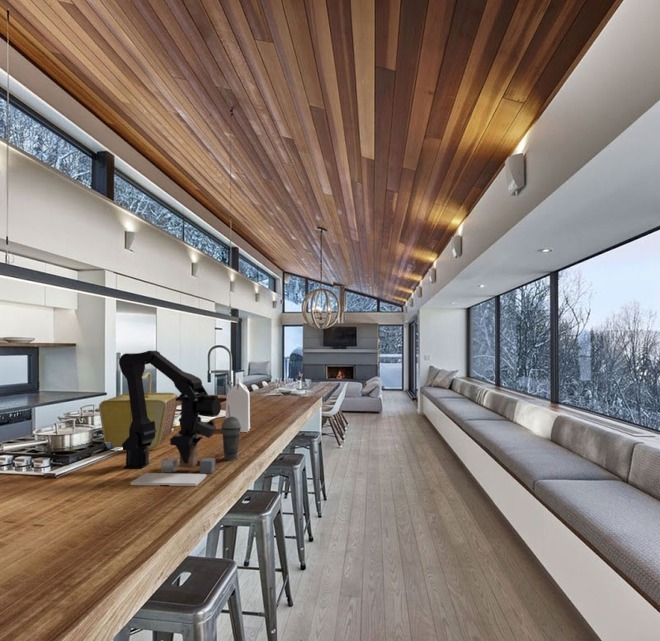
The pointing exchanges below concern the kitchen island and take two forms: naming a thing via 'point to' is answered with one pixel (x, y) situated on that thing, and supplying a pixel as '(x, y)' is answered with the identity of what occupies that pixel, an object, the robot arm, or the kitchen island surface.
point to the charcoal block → (207, 465)
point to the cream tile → (169, 479)
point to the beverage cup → (230, 436)
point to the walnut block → (190, 458)
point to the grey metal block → (169, 464)
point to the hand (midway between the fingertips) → (188, 461)
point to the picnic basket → (120, 417)
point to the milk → (239, 405)
